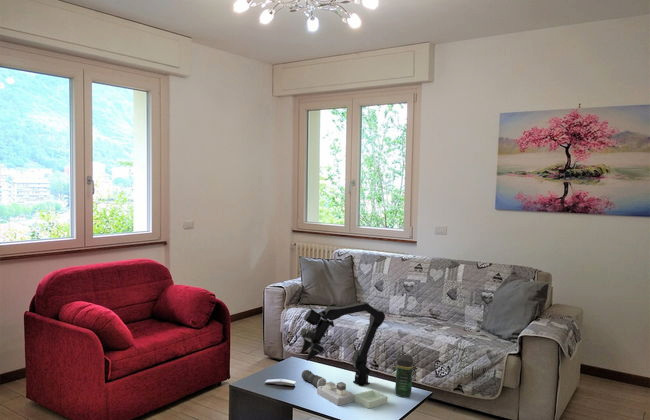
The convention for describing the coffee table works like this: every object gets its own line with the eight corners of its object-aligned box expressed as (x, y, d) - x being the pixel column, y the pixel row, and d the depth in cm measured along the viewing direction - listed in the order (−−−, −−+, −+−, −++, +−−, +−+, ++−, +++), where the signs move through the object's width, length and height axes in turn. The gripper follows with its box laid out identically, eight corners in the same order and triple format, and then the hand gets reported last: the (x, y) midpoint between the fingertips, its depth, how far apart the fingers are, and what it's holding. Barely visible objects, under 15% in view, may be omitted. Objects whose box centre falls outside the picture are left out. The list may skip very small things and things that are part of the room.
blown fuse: (340, 398, 240) (341, 381, 240) (345, 400, 238) (345, 384, 237) (335, 399, 238) (336, 383, 238) (340, 402, 236) (340, 385, 236)
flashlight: (300, 380, 262) (300, 369, 261) (308, 378, 265) (309, 368, 265) (317, 390, 249) (317, 379, 249) (326, 388, 252) (326, 377, 252)
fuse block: (333, 389, 251) (333, 382, 250) (354, 400, 238) (354, 393, 238) (316, 393, 244) (317, 386, 244) (337, 405, 232) (337, 398, 232)
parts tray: (372, 395, 245) (373, 389, 245) (387, 403, 237) (387, 396, 237) (354, 400, 238) (354, 394, 238) (368, 408, 230) (368, 402, 230)
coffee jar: (410, 398, 244) (412, 360, 243) (393, 396, 246) (395, 358, 246) (412, 391, 253) (414, 354, 252) (396, 389, 255) (398, 352, 255)
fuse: (330, 392, 246) (331, 381, 246) (334, 394, 244) (335, 383, 244) (325, 393, 245) (326, 382, 244) (329, 396, 242) (330, 384, 242)
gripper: (302, 317, 261) (286, 343, 259) (313, 328, 243) (296, 356, 242) (319, 326, 264) (303, 352, 263) (331, 339, 247) (314, 366, 245)
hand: (304, 356), depth 253 cm, fingers open, 9 cm apart
